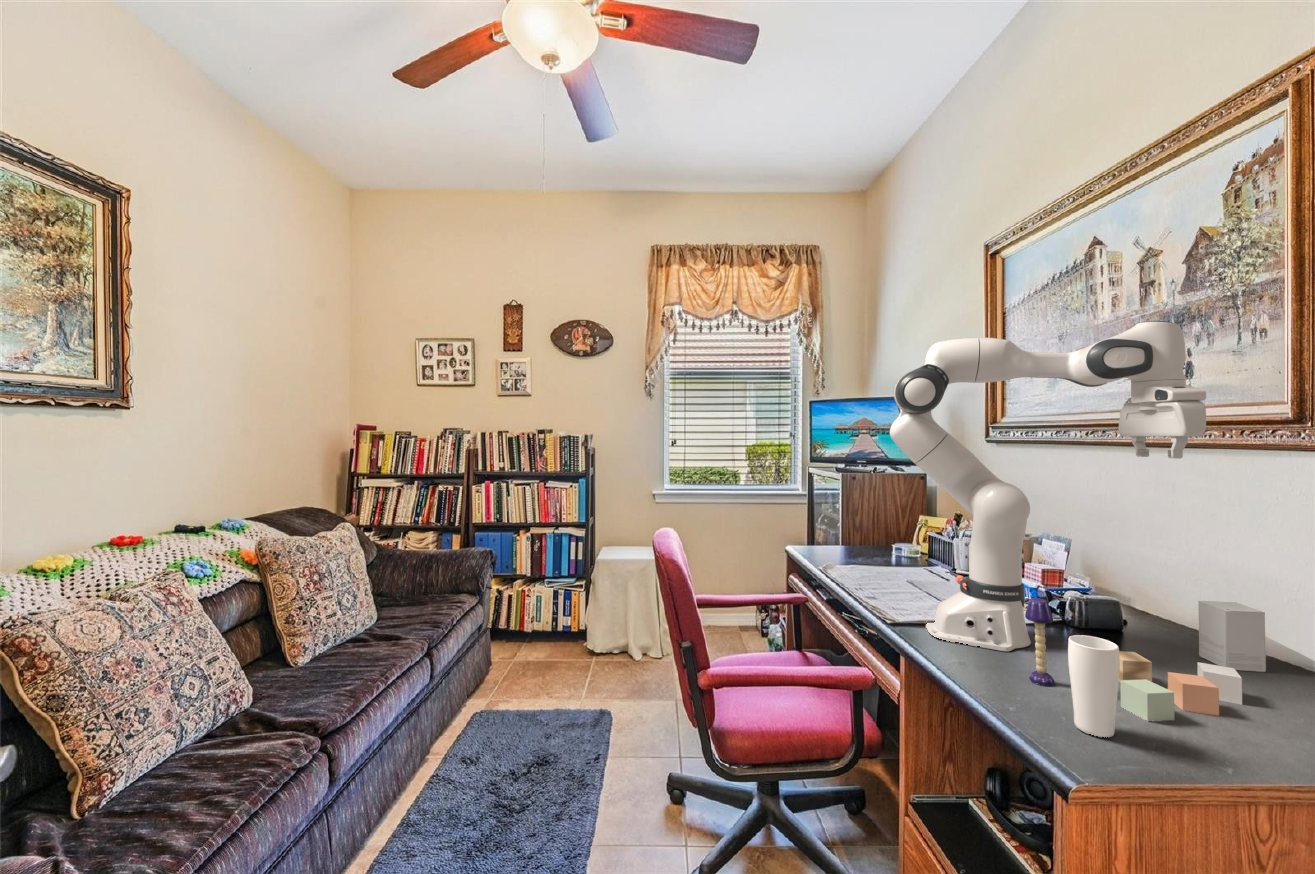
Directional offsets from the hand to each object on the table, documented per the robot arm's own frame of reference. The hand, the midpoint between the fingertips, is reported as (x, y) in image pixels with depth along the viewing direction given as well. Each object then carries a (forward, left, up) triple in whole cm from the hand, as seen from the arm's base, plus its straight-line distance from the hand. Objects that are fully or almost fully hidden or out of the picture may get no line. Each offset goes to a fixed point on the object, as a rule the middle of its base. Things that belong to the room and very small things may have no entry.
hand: (1158, 457), depth 117 cm
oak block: (-11, -14, -45) cm, 48 cm away
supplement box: (+13, +3, -45) cm, 47 cm away
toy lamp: (-28, -21, -45) cm, 57 cm away
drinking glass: (-25, -39, -45) cm, 64 cm away
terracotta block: (-5, -23, -45) cm, 51 cm away
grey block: (+2, -16, -45) cm, 48 cm away
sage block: (-14, -29, -45) cm, 55 cm away
